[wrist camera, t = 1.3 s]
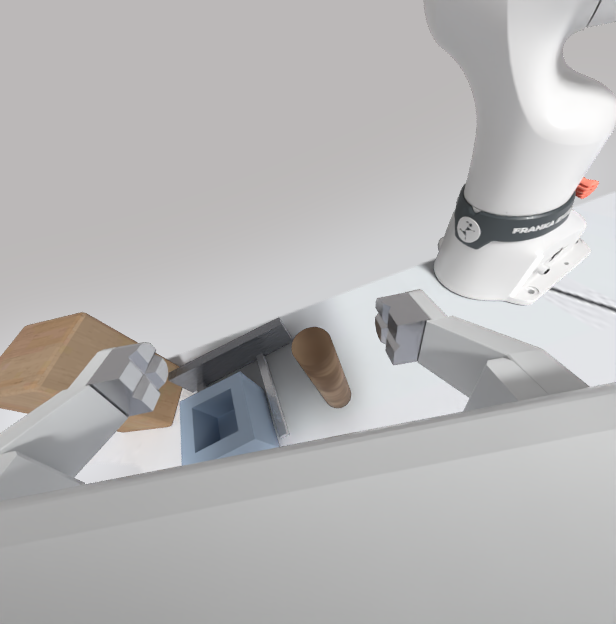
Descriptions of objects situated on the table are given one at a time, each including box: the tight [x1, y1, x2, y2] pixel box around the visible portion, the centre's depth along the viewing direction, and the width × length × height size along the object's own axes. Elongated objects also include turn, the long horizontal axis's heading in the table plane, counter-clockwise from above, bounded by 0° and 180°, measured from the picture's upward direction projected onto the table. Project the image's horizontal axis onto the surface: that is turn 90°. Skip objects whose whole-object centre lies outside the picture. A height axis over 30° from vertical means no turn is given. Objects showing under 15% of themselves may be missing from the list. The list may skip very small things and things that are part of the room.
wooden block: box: [0, 312, 182, 432], centre depth 35 cm, size 10×10×20 cm
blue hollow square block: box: [180, 372, 279, 466], centre depth 32 cm, size 9×9×8 cm
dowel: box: [292, 327, 351, 408], centre depth 29 cm, size 4×4×16 cm
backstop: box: [168, 318, 293, 438], centre depth 36 cm, size 20×16×6 cm
